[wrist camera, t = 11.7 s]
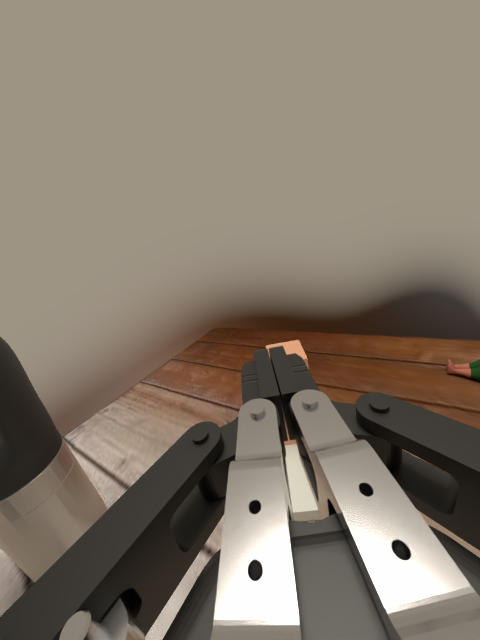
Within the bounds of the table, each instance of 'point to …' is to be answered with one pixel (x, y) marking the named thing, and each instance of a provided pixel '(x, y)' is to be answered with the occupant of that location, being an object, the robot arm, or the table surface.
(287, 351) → the block
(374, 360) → the table surface
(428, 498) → the robot arm
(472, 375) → the toy character
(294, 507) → the white stand base
